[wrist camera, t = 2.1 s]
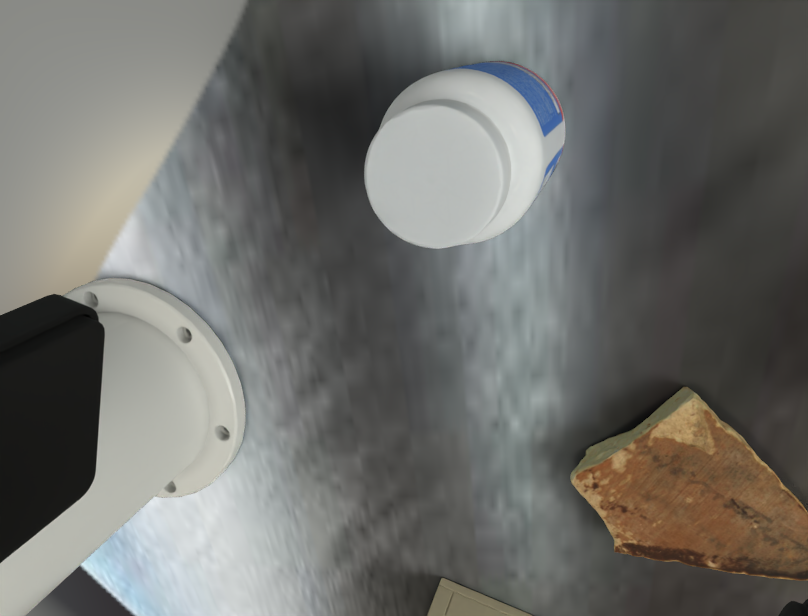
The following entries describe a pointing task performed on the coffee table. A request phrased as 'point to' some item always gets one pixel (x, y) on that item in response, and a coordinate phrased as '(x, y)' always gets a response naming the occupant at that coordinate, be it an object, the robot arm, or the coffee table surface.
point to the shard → (694, 495)
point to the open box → (467, 603)
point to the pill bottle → (464, 154)
